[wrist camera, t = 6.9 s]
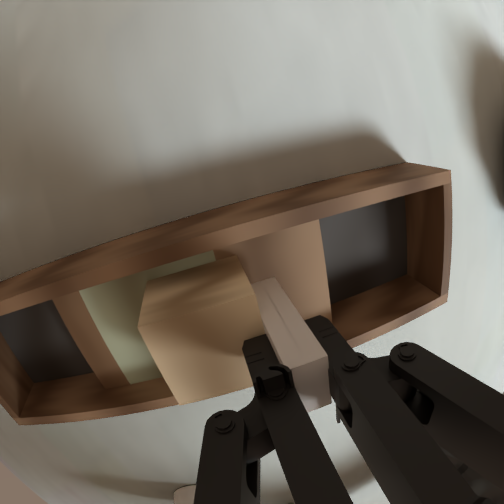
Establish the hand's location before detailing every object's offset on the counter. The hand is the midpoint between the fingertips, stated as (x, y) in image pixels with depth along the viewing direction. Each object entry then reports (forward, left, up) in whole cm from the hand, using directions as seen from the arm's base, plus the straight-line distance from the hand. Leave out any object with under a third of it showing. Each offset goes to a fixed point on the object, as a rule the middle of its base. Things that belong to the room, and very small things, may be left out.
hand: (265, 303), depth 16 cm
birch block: (+3, 0, -2) cm, 4 cm away
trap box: (+4, 0, -4) cm, 6 cm away
